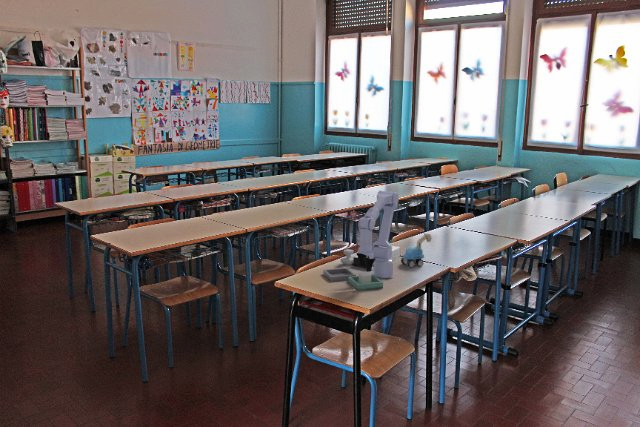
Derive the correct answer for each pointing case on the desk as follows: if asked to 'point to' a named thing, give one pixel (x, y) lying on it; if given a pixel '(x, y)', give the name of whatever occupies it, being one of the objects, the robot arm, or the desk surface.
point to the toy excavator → (415, 253)
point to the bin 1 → (338, 274)
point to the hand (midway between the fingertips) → (365, 269)
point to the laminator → (356, 263)
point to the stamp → (347, 257)
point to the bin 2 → (366, 286)
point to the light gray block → (364, 278)
